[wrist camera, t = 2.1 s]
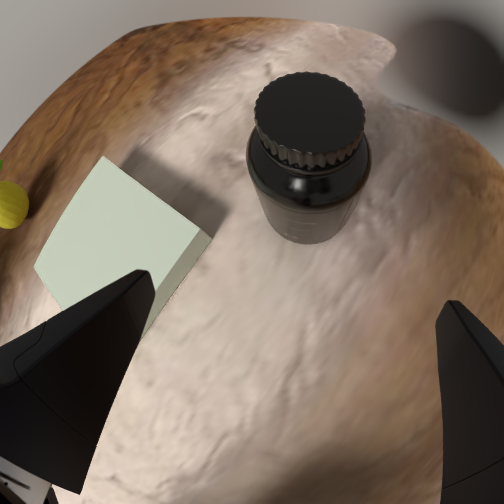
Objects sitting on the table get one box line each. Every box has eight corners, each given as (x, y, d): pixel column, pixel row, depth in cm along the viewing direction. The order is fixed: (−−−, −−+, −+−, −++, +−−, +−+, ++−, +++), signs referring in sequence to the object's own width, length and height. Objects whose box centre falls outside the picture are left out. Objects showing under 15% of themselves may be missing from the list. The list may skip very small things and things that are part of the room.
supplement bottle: (286, 155, 23) (274, 44, 12) (360, 188, 22) (405, 88, 10) (247, 223, 23) (200, 139, 11) (327, 262, 21) (362, 207, 9)
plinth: (212, 239, 23) (200, 228, 20) (126, 360, 22) (106, 365, 19) (118, 169, 26) (102, 155, 23) (53, 271, 25) (33, 267, 22)
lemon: (37, 180, 28) (-16, 149, 18) (46, 208, 27) (-15, 178, 17) (11, 216, 28) (-41, 193, 18) (19, 246, 27) (-41, 226, 17)
